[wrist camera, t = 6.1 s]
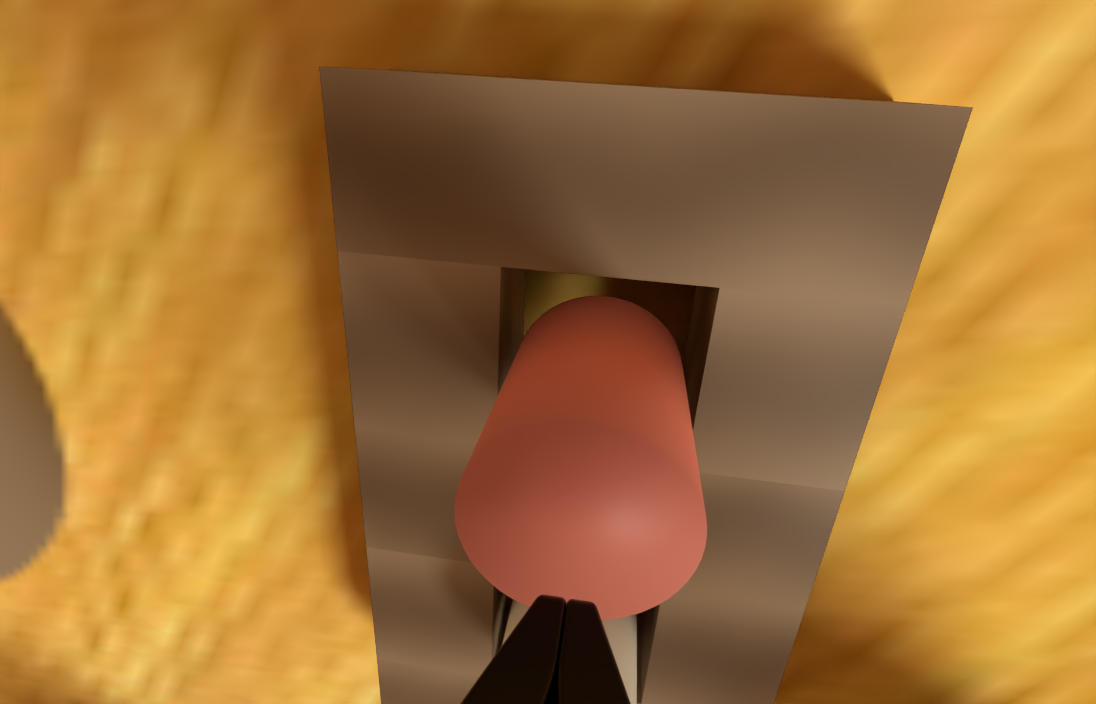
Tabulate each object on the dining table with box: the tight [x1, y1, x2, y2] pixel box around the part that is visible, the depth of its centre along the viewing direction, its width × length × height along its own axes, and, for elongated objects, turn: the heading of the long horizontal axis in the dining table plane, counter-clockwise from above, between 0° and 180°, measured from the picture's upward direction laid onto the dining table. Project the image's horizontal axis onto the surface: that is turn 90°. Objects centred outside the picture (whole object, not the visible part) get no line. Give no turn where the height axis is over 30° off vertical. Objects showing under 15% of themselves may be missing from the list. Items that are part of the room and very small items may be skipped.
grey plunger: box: [502, 600, 637, 704], centre depth 20 cm, size 4×4×6 cm
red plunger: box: [454, 296, 707, 620], centre depth 13 cm, size 4×4×6 cm
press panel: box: [319, 67, 973, 704], centre depth 20 cm, size 24×14×4 cm, turn 177°
